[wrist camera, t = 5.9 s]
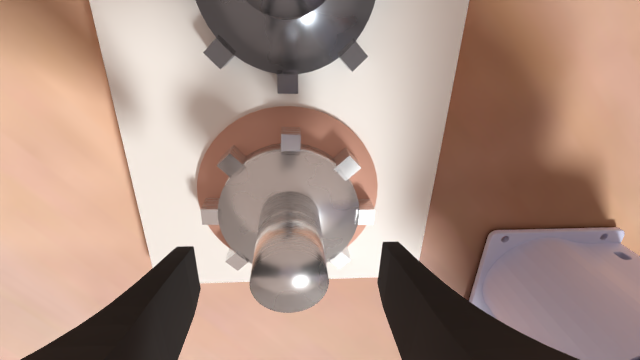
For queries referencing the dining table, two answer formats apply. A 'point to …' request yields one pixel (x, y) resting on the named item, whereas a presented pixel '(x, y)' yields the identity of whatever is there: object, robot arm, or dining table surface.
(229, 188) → the aluminium gear
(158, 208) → the gear board
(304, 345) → the dining table surface
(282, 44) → the crank gear
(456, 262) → the dining table surface
